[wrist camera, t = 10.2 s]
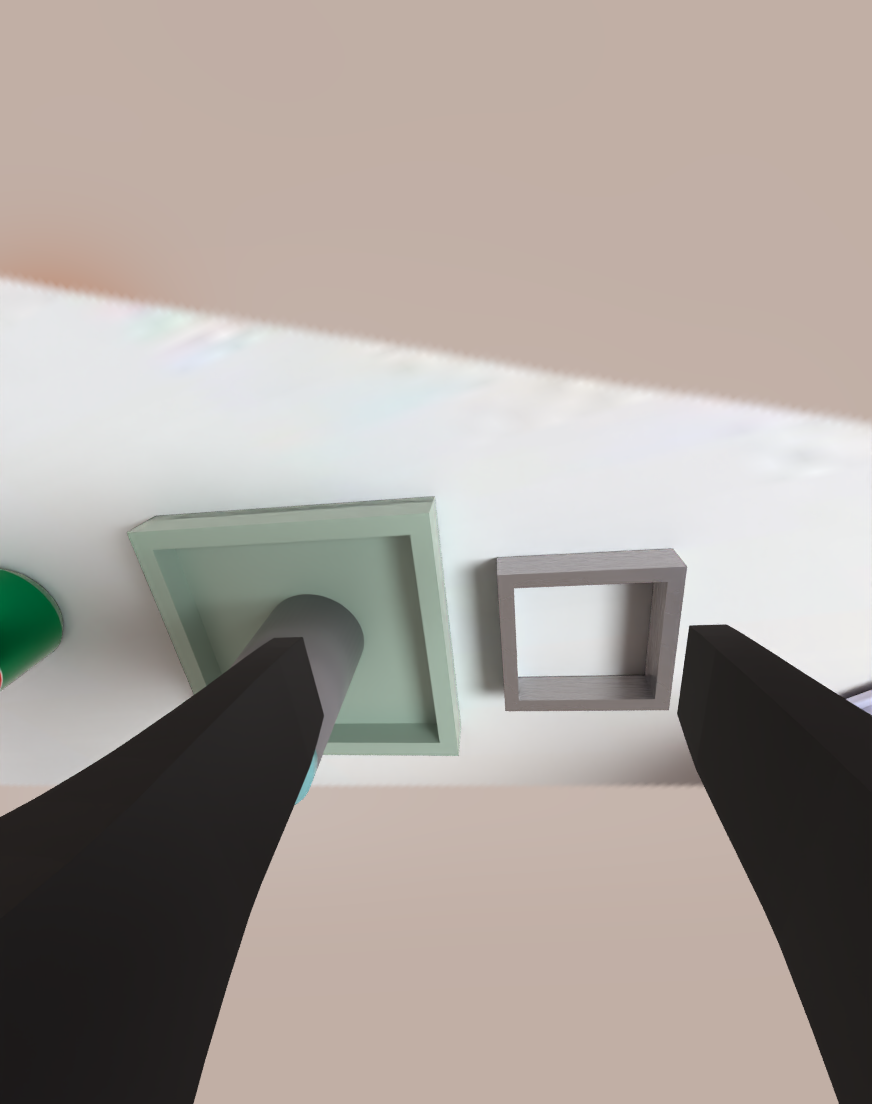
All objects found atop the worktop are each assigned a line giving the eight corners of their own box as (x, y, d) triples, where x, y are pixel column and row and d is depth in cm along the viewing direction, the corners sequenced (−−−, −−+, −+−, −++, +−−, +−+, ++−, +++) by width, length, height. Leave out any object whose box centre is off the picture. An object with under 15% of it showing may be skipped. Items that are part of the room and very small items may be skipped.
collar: (672, 548, 19) (686, 566, 17) (657, 685, 22) (668, 710, 20) (496, 557, 20) (497, 575, 18) (504, 687, 22) (505, 711, 21)
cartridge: (384, 649, 21) (339, 784, 15) (314, 688, 23) (246, 827, 17) (318, 576, 20) (240, 691, 14) (248, 623, 22) (149, 747, 15)
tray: (434, 496, 19) (428, 513, 17) (461, 726, 24) (458, 755, 22) (155, 515, 20) (126, 532, 19) (235, 726, 26) (218, 753, 24)
